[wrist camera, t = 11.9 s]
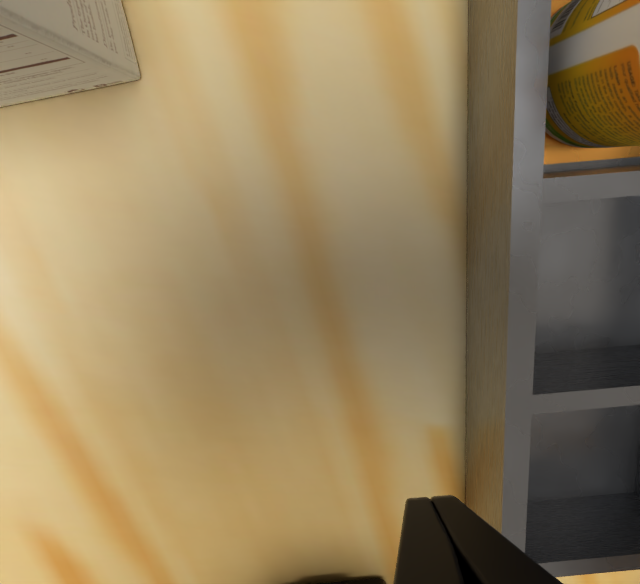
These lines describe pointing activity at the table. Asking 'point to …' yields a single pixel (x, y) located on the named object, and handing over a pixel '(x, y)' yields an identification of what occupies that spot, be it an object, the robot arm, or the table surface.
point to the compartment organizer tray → (548, 312)
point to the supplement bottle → (594, 74)
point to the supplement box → (62, 48)
